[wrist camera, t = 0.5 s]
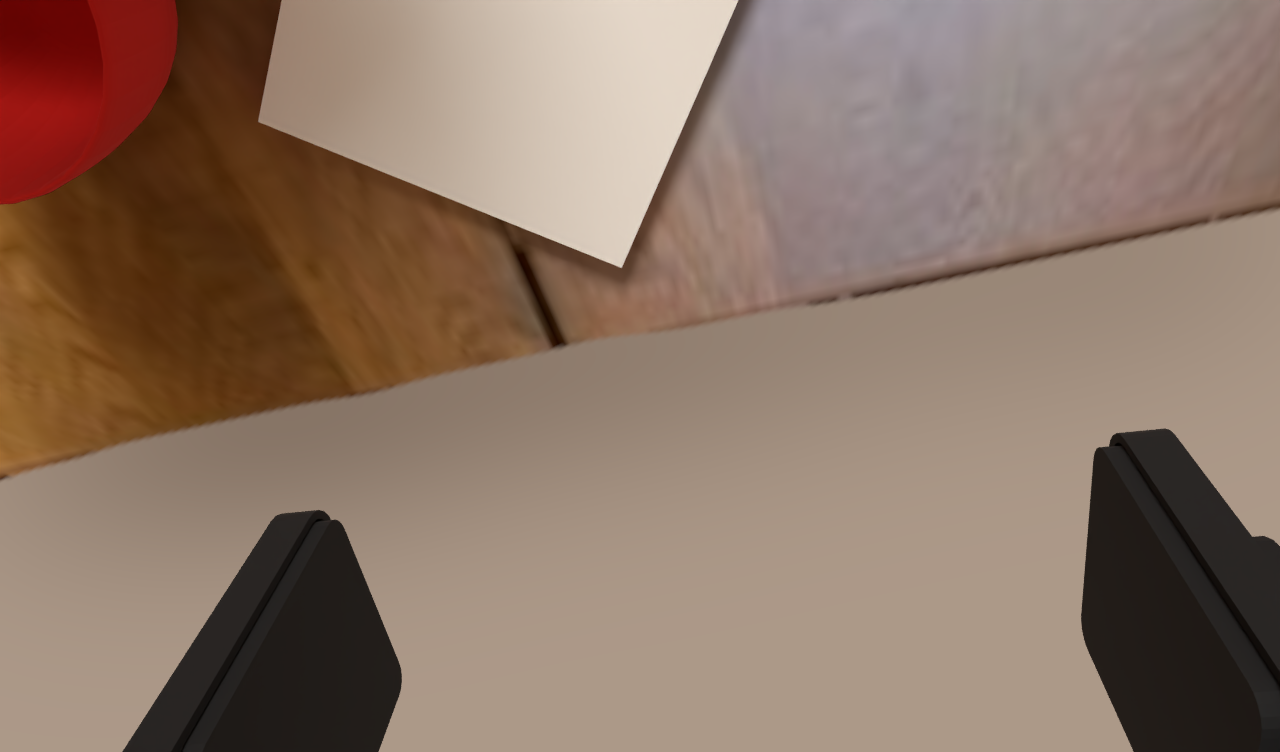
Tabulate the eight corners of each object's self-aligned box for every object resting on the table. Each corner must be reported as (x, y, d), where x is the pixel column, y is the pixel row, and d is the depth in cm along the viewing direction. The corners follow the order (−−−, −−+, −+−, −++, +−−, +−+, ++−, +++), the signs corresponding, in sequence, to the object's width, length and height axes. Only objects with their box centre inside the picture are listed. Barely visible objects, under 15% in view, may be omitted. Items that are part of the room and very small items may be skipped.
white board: (272, 112, 42) (257, 121, 41) (360, -325, 34) (345, -331, 33) (624, 254, 45) (621, 267, 43) (787, -122, 36) (790, -120, 35)
